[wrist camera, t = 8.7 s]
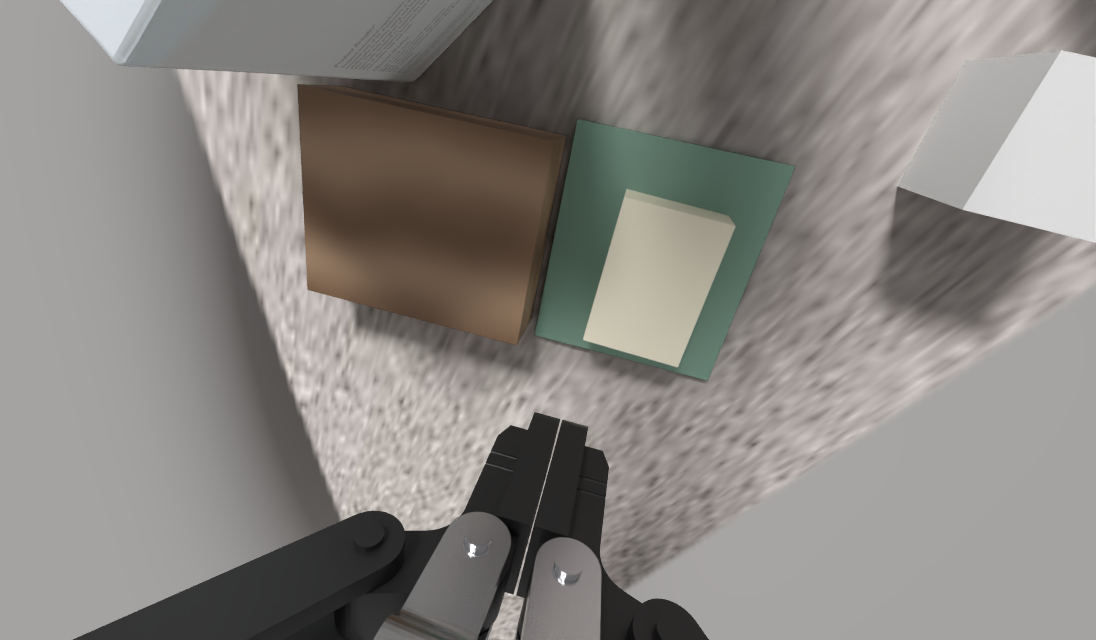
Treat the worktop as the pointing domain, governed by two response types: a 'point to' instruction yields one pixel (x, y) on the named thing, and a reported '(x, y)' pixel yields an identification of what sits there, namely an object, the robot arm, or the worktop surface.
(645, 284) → the cream tile
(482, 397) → the worktop surface
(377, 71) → the supplement box
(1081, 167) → the white cube
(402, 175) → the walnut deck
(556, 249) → the green mat
